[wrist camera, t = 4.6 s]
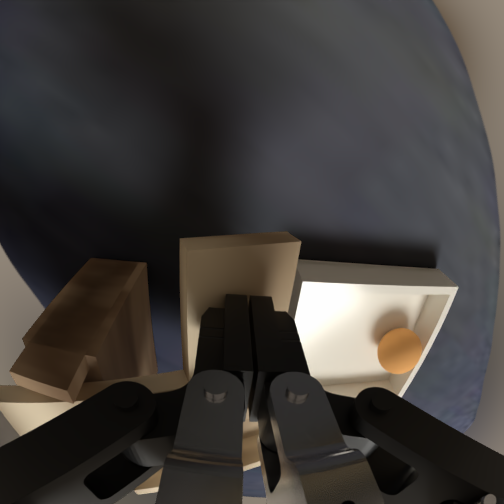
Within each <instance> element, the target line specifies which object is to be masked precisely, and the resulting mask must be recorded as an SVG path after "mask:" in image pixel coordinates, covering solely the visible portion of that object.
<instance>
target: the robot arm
mask: <svg viewBox="0 0 504 504" xmlns="http://www.w3.org/2000/svg"><path fill="white" fill-rule="evenodd" d="M247 407H248V410H249V422H258V427H259V435H258V438H257V447H258V452H259V458H260V464H261V469H262V475H263V480H264V485H265V491H266V504H504V456H503V455H501V454H499V453H498V452H496V451H494V450H492V449H490V448H488V447H486V446H484V445H483V444H481V443H479V442H477V441H475V440H473V439H472V438H470V437H468V436H466V435H464V434H463V433H461V432H459V431H457V430H456V429H454V428H452V427H450V426H448V425H447V424H445V423H443V422H442V421H440V420H438V419H436V418H435V417H433V416H431V415H430V414H428V413H426V412H424V411H423V410H421V409H419V408H418V407H416V406H414V405H413V404H411V403H409V402H408V401H406V400H404V399H403V398H401V397H399V396H398V395H396V394H395V393H393V392H391V391H389V390H387V389H385V388H381V387H369V388H366V389H364V390H362V391H361V392H359V394H358V395H357V397H356V398H354V397H348V396H343V395H337V394H333V393H330V392H327V391H325V390H324V389H323V387H322V385H321V384H320V382H319V381H318V380H317V379H315V378H314V377H312V376H311V375H310V372H309V368H308V365H307V361H306V358H305V354H304V351H303V347H302V344H301V342H300V337H299V334H298V330H297V327H296V323H295V320H294V319H293V318H292V317H291V316H290V315H289V314H288V313H287V312H286V311H275V309H274V305H273V300H272V297H271V296H256V295H250V297H249V304H248V301H247V295H238V294H226V295H225V308H213V307H209V308H208V309H207V310H206V311H205V313H204V314H203V315H202V316H201V323H200V330H199V338H198V345H197V353H196V360H195V368H194V374H193V376H192V378H191V379H190V381H189V382H188V383H187V384H186V385H184V386H183V387H181V388H179V389H177V390H174V391H169V392H163V393H155V394H153V393H152V392H151V391H150V390H149V389H148V388H147V387H146V386H144V385H142V384H140V383H137V382H132V381H122V382H117V383H114V384H112V385H110V386H108V387H107V388H105V389H103V390H102V391H100V392H98V393H97V394H95V395H93V396H92V397H90V398H88V399H86V400H85V401H83V402H81V403H79V404H78V405H76V406H74V407H73V408H71V409H69V410H67V411H66V412H64V413H62V414H60V415H58V416H57V417H55V418H53V419H51V420H50V421H48V422H46V423H44V424H42V425H40V426H39V427H37V428H35V429H33V430H31V431H29V432H28V433H26V434H24V435H22V436H20V437H18V438H16V439H14V440H13V441H11V442H9V443H7V444H5V445H3V446H1V447H0V504H114V503H115V502H117V501H118V500H120V499H121V498H123V497H124V496H126V495H127V494H128V493H129V492H131V491H132V490H134V489H135V488H137V487H138V486H139V485H141V484H142V483H143V482H145V481H146V480H147V479H149V478H150V477H151V476H152V475H154V474H155V473H156V472H158V471H159V470H160V469H161V468H163V470H162V475H161V479H160V484H159V489H158V494H157V498H156V503H155V504H242V495H243V462H242V441H243V422H245V419H246V413H247Z"/></svg>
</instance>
